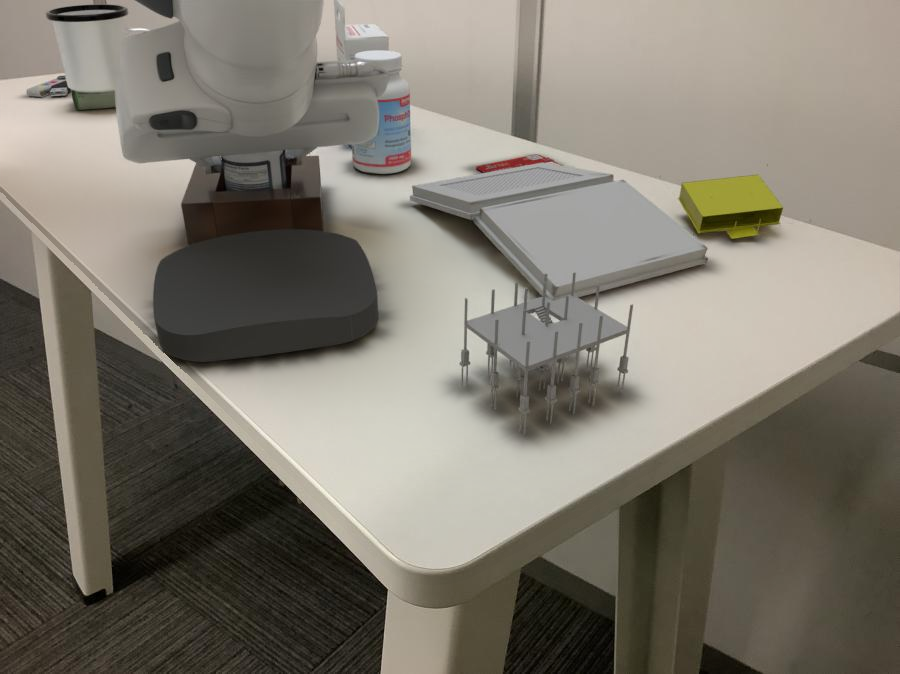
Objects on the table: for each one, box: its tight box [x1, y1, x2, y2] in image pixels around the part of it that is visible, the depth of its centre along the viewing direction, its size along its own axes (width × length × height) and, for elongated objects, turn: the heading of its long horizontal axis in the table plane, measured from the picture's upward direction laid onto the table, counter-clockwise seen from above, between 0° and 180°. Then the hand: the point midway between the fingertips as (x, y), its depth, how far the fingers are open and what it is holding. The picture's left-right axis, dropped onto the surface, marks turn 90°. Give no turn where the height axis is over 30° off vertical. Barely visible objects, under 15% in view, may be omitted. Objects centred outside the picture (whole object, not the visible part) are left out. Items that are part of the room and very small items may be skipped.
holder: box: [180, 155, 325, 244], centre depth 71 cm, size 11×11×4 cm
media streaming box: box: [152, 229, 379, 363], centre depth 56 cm, size 15×15×3 cm
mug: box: [45, 3, 152, 93], centre depth 100 cm, size 12×10×9 cm
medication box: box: [70, 89, 116, 111], centre depth 105 cm, size 12×3×4 cm
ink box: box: [333, 0, 390, 148], centre depth 89 cm, size 8×5×15 cm, turn 14°
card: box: [475, 154, 564, 173], centre depth 83 cm, size 8×1×5 cm
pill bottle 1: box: [221, 150, 287, 191], centre depth 70 cm, size 5×5×9 cm
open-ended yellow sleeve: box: [659, 163, 812, 240], centre depth 70 cm, size 10×9×3 cm
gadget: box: [409, 163, 709, 301], centre depth 68 cm, size 23×15×4 cm, turn 29°
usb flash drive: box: [25, 75, 71, 98], centre depth 111 cm, size 9×5×1 cm, turn 16°
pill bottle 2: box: [351, 50, 412, 175], centre depth 81 cm, size 6×6×11 cm
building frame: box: [459, 272, 634, 436], centre depth 47 cm, size 6×8×6 cm
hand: (252, 162), depth 70 cm, fingers open, 5 cm apart
